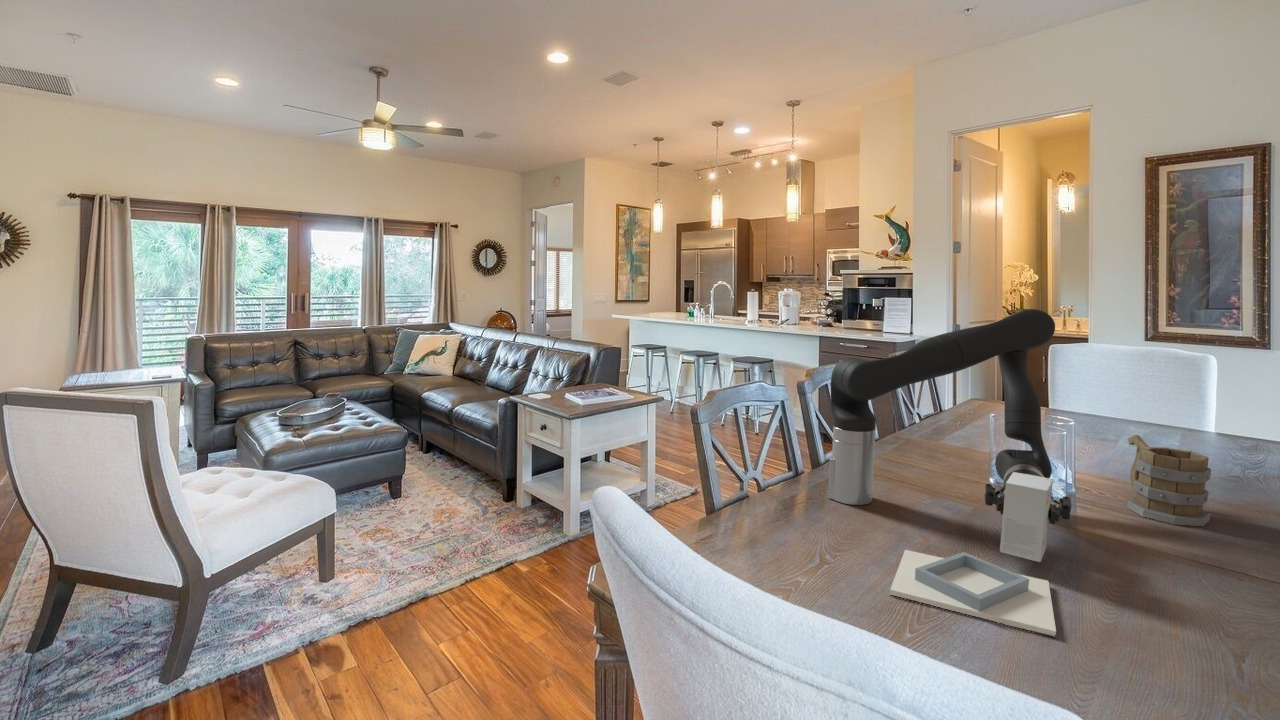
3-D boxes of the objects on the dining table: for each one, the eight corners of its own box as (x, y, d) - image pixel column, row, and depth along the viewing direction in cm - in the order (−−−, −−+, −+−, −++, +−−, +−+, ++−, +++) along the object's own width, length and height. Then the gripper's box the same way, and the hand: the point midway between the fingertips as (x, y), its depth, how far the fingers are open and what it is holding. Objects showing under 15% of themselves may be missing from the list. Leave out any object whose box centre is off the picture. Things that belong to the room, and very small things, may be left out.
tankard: (1223, 528, 121) (1232, 458, 119) (1154, 524, 123) (1162, 455, 122) (1156, 494, 141) (1163, 434, 139) (1098, 491, 143) (1104, 431, 141)
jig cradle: (889, 595, 95) (890, 577, 94) (904, 554, 109) (905, 539, 109) (1055, 638, 83) (1057, 618, 83) (1047, 586, 98) (1049, 569, 97)
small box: (1006, 537, 111) (1012, 471, 109) (1046, 547, 107) (1054, 478, 105) (998, 552, 105) (1005, 482, 103) (1041, 563, 101) (1048, 490, 99)
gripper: (985, 462, 121) (983, 485, 107) (1070, 475, 114) (1080, 502, 100) (982, 497, 122) (979, 524, 108) (1066, 512, 115) (1075, 543, 101)
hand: (1027, 513), depth 104 cm, fingers closed on small box, 7 cm apart
